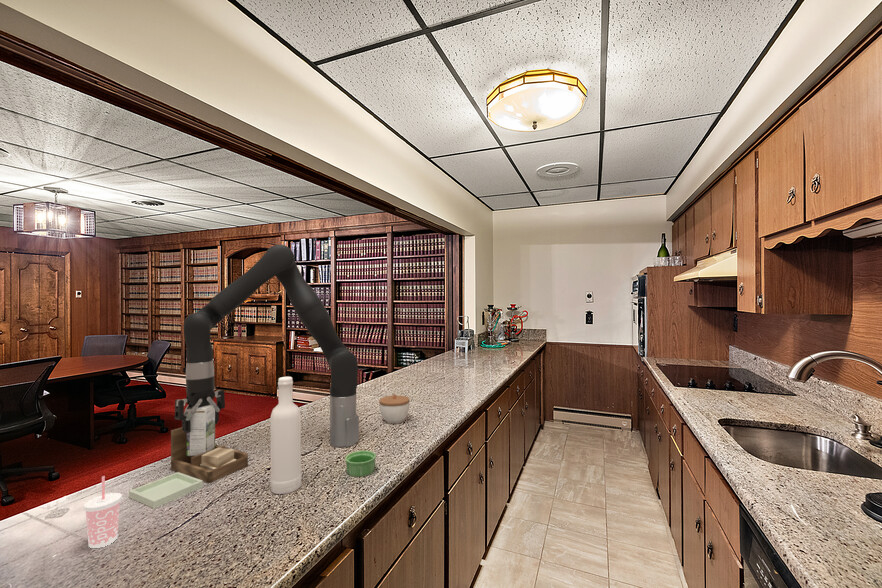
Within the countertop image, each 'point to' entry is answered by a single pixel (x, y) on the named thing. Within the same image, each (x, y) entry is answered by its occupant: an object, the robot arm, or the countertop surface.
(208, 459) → the offcut top
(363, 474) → the ramekin
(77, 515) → the countertop surface
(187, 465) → the open box
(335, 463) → the countertop surface
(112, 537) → the beverage cup
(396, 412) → the white lidded bowl
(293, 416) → the bottle
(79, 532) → the countertop surface
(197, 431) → the syrup box
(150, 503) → the tray
